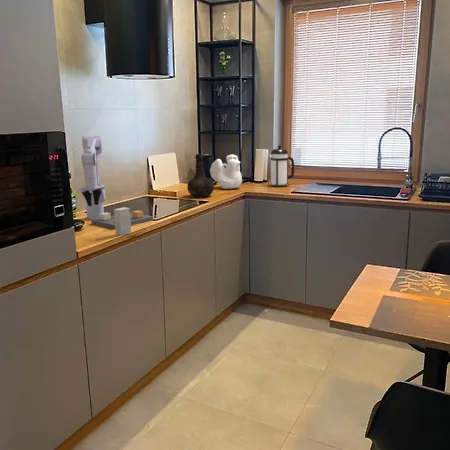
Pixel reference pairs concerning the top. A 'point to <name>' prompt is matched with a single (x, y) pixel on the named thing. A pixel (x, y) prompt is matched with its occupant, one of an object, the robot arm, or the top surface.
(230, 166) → the decorative rooster
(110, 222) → the dark grey slab
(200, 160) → the dark brown vase
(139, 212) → the block
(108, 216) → the cream fader
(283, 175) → the coffee press
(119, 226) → the skincare box
